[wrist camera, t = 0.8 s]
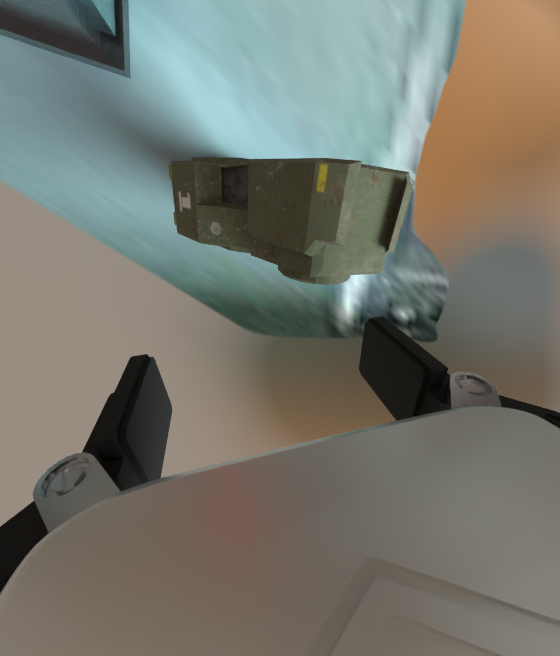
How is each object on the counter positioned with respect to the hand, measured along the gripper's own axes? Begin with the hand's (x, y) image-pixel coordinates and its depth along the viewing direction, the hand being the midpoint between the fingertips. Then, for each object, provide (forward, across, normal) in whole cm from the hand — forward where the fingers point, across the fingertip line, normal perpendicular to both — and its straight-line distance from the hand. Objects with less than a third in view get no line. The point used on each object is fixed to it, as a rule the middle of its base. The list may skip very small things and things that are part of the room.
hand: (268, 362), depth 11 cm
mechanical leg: (+30, -1, -5) cm, 31 cm away
